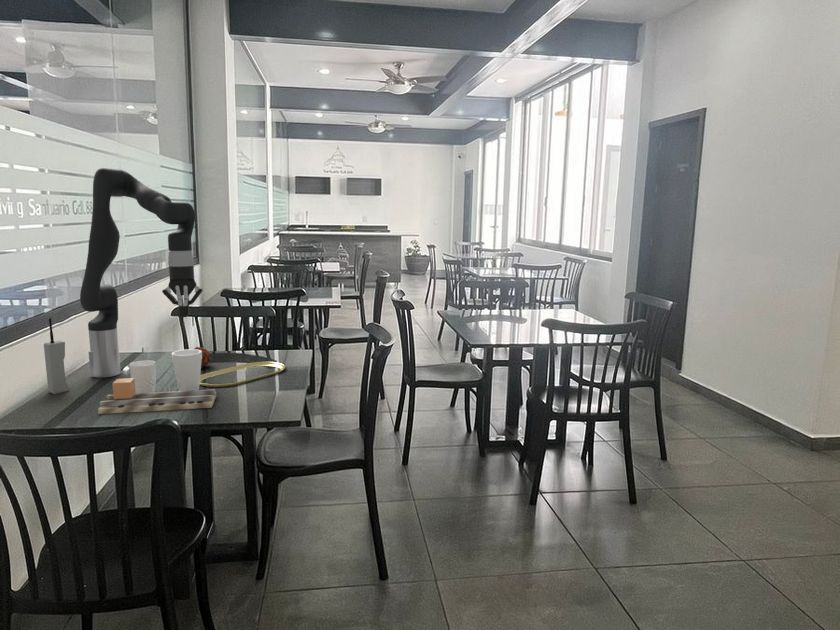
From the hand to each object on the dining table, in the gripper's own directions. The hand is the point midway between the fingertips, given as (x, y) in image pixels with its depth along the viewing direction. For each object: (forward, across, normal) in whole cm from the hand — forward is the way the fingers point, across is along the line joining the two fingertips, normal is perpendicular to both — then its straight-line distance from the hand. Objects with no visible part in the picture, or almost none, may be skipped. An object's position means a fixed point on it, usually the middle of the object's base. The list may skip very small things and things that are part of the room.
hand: (184, 316), depth 198 cm
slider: (+23, +16, +15) cm, 32 cm away
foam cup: (+25, 0, 0) cm, 25 cm away
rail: (+25, +6, +15) cm, 30 cm away
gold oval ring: (+26, -16, -16) cm, 34 cm away
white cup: (+25, +14, 0) cm, 29 cm away
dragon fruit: (+25, +2, -32) cm, 41 cm away
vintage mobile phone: (+25, +42, -6) cm, 49 cm away
